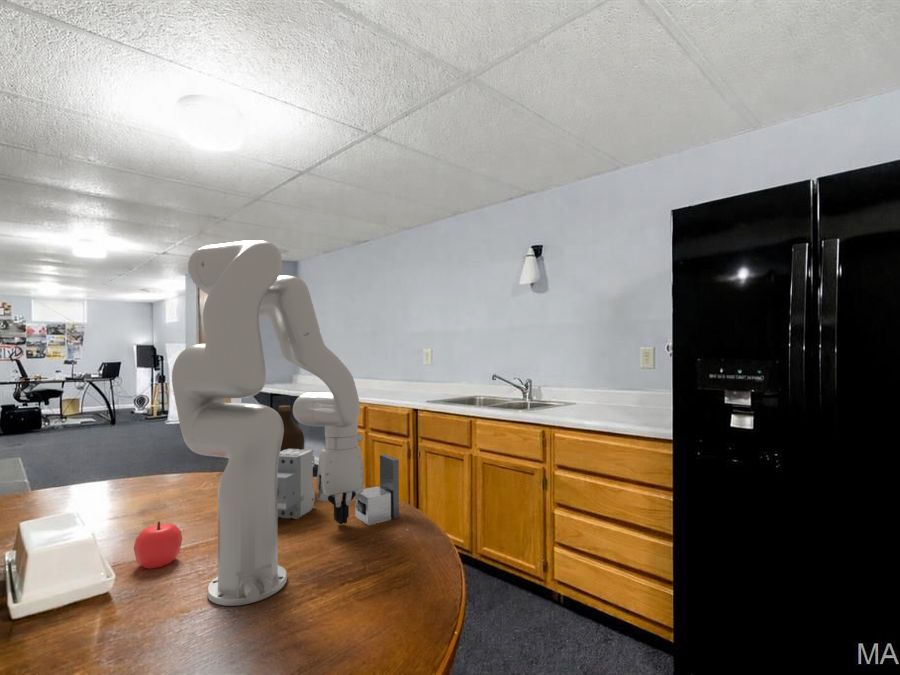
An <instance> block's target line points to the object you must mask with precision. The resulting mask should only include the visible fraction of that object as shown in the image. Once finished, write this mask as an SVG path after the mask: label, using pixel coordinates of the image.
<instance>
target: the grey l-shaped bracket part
mask: <svg viewBox="0 0 900 675" xmlns="http://www.w3.org/2000/svg"><path fill="white" fill-rule="evenodd" d="M399 461H400V460H399V459H398V458H396V457H393V456H391V455H388V454H380V455H379V487H380V488H382V489H384V490H385V491H387V492H389V493H391V519H398V518H400V483H399V482H400V480H399V479H400V471H399V470H400V469H399V468H400V467H399V466H400V464H399V463H400V462H399ZM356 509H358V510H359V511H361V512H363V511H366V505H365V504H364V503H362V502H360V503H356Z"/></svg>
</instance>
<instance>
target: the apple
mask: <svg viewBox="0 0 900 675" xmlns="http://www.w3.org/2000/svg"><path fill="white" fill-rule="evenodd" d="M182 541H183V535H182V532H181V529H180V528H179V527H178V526H177V525H176V524H173V523H171V522H167V523H161V522H160V520H158V521H157V524H155V525H151V526H148V527H146V528H144V529H143V530H142V531H141V532H140V533H139V535H138V536H137V537H136V539H135V542H134V546H133V552H134V556H135V560H136V563H137V565H140V566H142V567H143V568H145V569H148V570H151V569H160V568H162V567H164V566H168V565H170V564H171V563H172V562H174V560H175V559H176V558H177V557H178V555H179V554H180V552H181V547H182Z"/></svg>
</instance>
